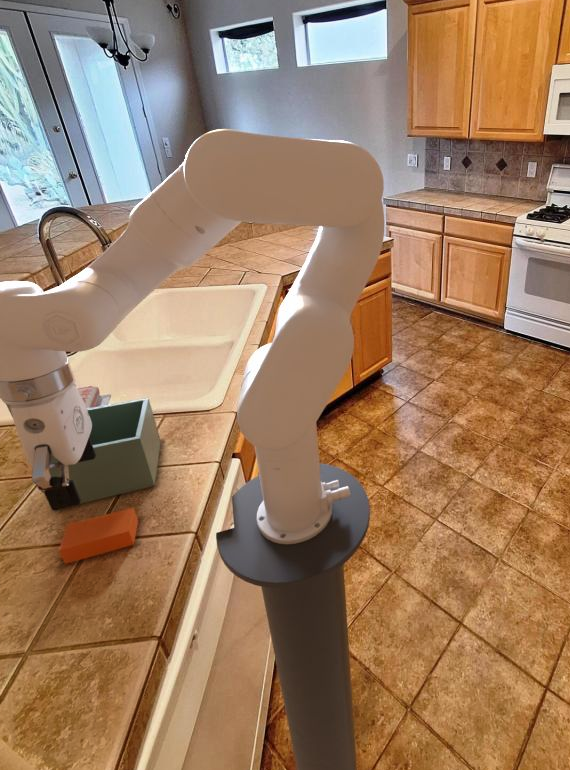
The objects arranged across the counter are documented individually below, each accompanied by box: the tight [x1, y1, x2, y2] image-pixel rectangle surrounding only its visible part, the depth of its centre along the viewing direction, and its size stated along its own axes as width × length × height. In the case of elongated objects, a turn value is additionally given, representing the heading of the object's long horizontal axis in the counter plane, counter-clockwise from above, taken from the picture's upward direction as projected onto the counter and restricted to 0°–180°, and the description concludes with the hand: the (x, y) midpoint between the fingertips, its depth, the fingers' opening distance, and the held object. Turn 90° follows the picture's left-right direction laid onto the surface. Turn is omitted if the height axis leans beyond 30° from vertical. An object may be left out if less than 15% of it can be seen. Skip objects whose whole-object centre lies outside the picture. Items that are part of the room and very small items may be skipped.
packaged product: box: [77, 385, 112, 409], centre depth 93 cm, size 18×5×10 cm
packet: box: [58, 507, 139, 565], centre depth 67 cm, size 9×5×3 cm, turn 112°
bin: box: [49, 397, 162, 505], centre depth 79 cm, size 15×14×11 cm
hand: (76, 481), depth 62 cm, fingers open, 9 cm apart
